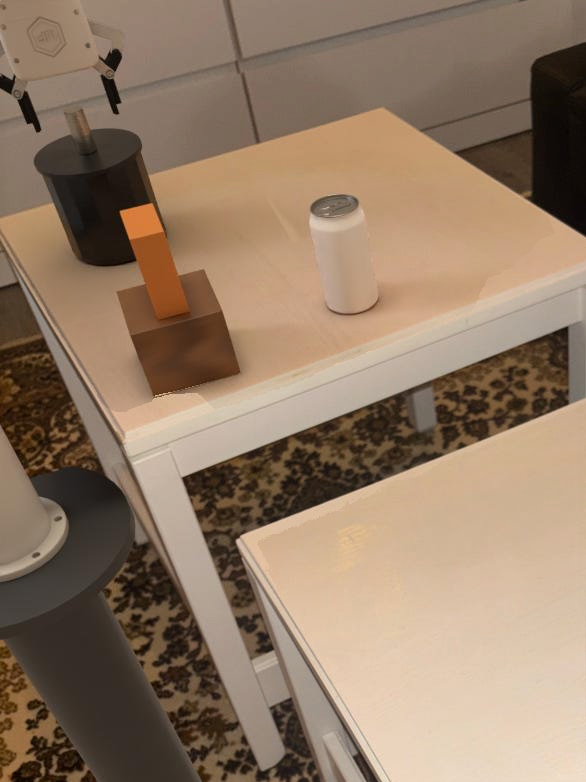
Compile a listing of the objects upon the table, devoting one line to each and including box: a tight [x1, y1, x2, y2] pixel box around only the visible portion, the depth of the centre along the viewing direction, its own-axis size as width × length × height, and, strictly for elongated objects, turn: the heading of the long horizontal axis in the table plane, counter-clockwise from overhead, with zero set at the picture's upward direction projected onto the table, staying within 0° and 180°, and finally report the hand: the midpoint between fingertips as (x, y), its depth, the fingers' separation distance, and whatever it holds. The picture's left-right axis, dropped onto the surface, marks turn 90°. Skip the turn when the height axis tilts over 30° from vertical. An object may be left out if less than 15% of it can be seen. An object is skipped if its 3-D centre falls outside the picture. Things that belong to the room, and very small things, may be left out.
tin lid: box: [33, 105, 143, 180], centre depth 124 cm, size 14×14×6 cm
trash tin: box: [41, 151, 167, 266], centre depth 130 cm, size 13×13×12 cm
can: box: [308, 193, 379, 315], centre depth 115 cm, size 6×6×12 cm
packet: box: [120, 203, 190, 320], centre depth 104 cm, size 4×7×9 cm, turn 22°
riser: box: [116, 268, 242, 396], centre depth 111 cm, size 10×10×8 cm
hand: (77, 119), depth 123 cm, fingers open, 9 cm apart
